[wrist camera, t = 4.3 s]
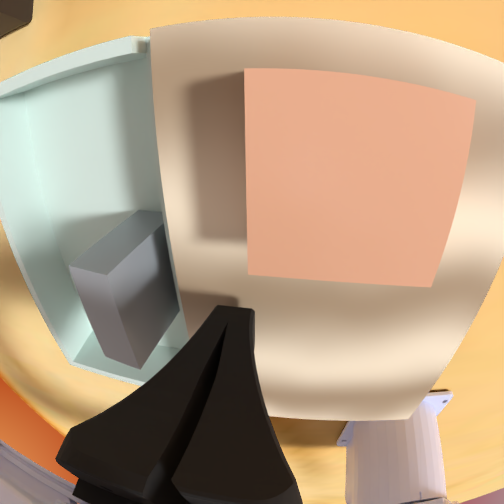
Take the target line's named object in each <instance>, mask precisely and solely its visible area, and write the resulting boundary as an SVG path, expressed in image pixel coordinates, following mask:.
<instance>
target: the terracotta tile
mask: <svg viewBox="0 0 504 504" xmlns="http://www.w3.org/2000/svg"><path fill="white" fill-rule="evenodd" d="M244 92H245V153H246V206H247V255H248V275H258V276H270V277H282V278H295V279H308V280H321V281H335V282H349V283H364V284H379V285H396V286H413V287H431V286H432V283H433V281H434V278H435V275H436V272H437V270H438V267H439V264H440V261H441V258H442V255H443V252H444V249H445V246H446V243H447V240H448V236H449V233H450V230H451V226H452V223H453V219H454V216H455V212H456V208H457V204H458V201H459V196H460V192H461V188H462V184H463V179H464V175H465V170H466V165H467V160H468V155H469V149H470V143H471V137H472V131H473V124H474V116H475V107H476V100H474V99H471V98H467V97H464V96H461V95H457V94H453V93H450V92H446V91H442V90H438V89H434V88H430V87H426V86H421V85H417V84H412V83H407V82H402V81H396V80H391V79H385V78H379V77H372V76H366V75H358V74H350V73H341V72H331V71H319V70H304V69H280V68H244Z"/></svg>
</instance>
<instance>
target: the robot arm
mask: <svg viewBox="0 0 504 504" xmlns="http://www.w3.org/2000/svg"><path fill="white" fill-rule="evenodd" d="M254 348H255V311H254V310H253V309H252V308H243V307H233V306H224V305H217V306H216V307H215V308H214V309H213V310H212V312H211V313H210V315H209V316H208V317H207V319H206V320H205V321H204V323H203V324H202V325H201V326H200V328H199V329H198V330H197V331H196V333H195V334H194V335H193V336H192V337H191V338H190V340H189V341H188V342H187V343H186V344H185V345H184V346H183V348H182V349H181V350H180V351H179V352H178V353H177V354H176V355H175V356H174V357H173V358H172V359H171V360H170V361H169V362H168V363H167V364H166V365H165V366H164V367H163V368H162V369H161V370H160V371H159V372H157V373H156V374H155V375H154V376H153V377H152V378H151V379H149V380H148V381H147V382H146V383H145V384H143V385H142V386H141V387H139V388H138V389H137V390H135V391H134V392H133V393H132V394H130V395H129V396H127V397H126V398H124V399H123V400H121V401H120V402H118V403H117V404H115V405H113V406H112V407H110V408H109V409H107V410H105V411H104V412H102V413H100V414H98V415H97V416H95V417H93V418H91V419H89V420H87V421H85V422H83V423H81V424H79V425H76V426H74V427H72V428H71V429H70V431H69V432H68V434H67V435H66V437H65V439H64V441H63V444H62V445H61V448H60V450H59V452H58V454H57V456H56V458H55V459H56V461H57V462H58V464H60V465H61V466H62V467H64V468H65V469H66V470H68V471H69V472H71V473H72V474H73V475H75V476H77V477H78V478H79V479H78V481H77V484H76V485H74V484H72V483H70V482H68V481H66V480H64V479H63V478H61V477H59V476H57V475H55V474H53V473H52V472H50V471H48V470H46V469H45V468H43V467H41V466H39V465H38V464H36V463H35V462H33V461H31V460H30V459H28V458H27V457H25V456H23V455H22V454H20V453H19V452H17V451H16V450H14V449H13V448H11V447H10V446H9V445H7V444H6V443H4V442H3V441H1V440H0V504H77V502H78V503H80V504H303V502H302V499H301V496H300V492H299V489H298V486H297V482H296V479H295V477H294V475H293V473H292V471H291V469H290V467H289V465H288V463H287V461H286V458H285V456H284V454H283V452H282V449H281V447H280V445H279V442H278V440H277V437H276V434H275V432H274V429H273V426H272V424H271V421H270V418H269V415H268V412H267V409H266V405H265V402H264V398H263V395H262V391H261V387H260V383H259V378H258V373H257V368H256V362H255V355H254ZM452 397H453V393H452V392H451V391H444V392H431V393H428V394H427V395H426V397H425V398H424V399H423V401H422V402H421V403H420V405H419V406H418V407H417V409H416V410H415V411H414V412H413V414H412V415H411V416H410V418H409V419H401V420H375V421H348V422H347V424H346V426H345V428H344V429H343V431H342V433H341V435H340V437H339V438H338V440H337V446H346V486H345V500H346V503H347V504H459V503H458V502H457V501H454V502H450V501H449V500H447V496H446V483H445V473H444V465H443V457H442V449H441V442H440V436H439V430H438V424H437V418H436V416H437V415H438V414H439V413H440V412H441V410H442V409H443V408H444V407H445V406H446V405H447V403H448V402H449V401H450V400H451V398H452ZM75 501H76V502H75Z"/></svg>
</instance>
